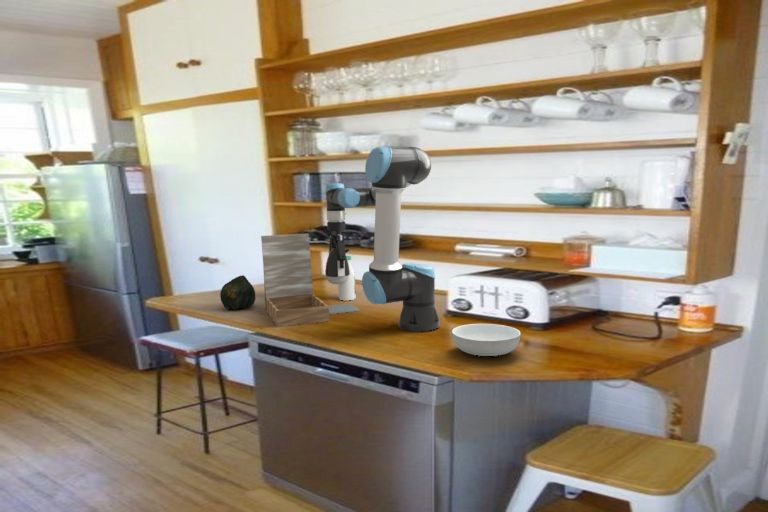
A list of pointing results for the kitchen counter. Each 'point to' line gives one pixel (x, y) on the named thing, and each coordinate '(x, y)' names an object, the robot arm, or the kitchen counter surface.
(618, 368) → the kitchen counter surface
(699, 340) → the kitchen counter surface
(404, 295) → the robot arm
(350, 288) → the milk bottle
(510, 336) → the serving bowl
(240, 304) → the squash
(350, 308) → the slate mat
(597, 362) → the kitchen counter surface
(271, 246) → the box
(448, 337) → the kitchen counter surface
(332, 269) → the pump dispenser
